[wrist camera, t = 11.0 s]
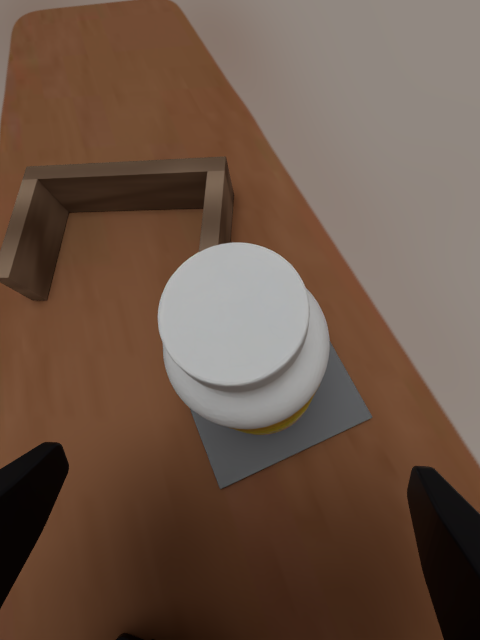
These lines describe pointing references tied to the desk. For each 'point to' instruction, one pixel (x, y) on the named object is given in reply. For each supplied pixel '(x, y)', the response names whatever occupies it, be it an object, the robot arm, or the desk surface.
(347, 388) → the charcoal mat
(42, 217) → the frame
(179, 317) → the supplement bottle
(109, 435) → the desk surface
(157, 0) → the desk surface
